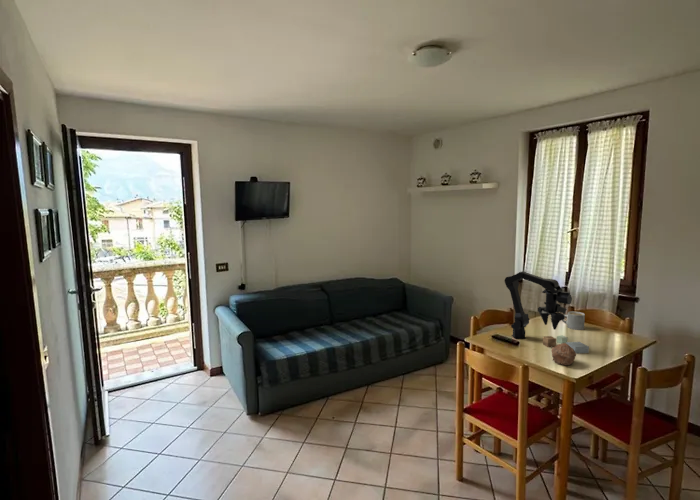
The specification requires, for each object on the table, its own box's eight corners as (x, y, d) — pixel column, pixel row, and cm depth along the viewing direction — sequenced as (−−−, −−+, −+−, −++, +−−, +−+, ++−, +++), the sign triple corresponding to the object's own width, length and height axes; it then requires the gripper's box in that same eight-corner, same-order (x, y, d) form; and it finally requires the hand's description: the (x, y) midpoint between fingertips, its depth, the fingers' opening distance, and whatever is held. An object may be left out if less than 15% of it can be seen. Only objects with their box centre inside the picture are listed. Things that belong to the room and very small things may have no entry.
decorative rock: (556, 356, 209) (557, 338, 208) (579, 362, 201) (580, 344, 200) (546, 363, 201) (547, 344, 200) (569, 369, 192) (570, 350, 191)
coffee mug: (586, 327, 259) (586, 313, 258) (581, 331, 252) (582, 316, 251) (564, 323, 268) (565, 309, 267) (559, 326, 262) (560, 312, 261)
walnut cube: (547, 347, 224) (548, 339, 223) (543, 344, 228) (543, 336, 228) (556, 347, 224) (556, 338, 223) (551, 344, 229) (551, 336, 228)
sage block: (562, 344, 228) (562, 337, 228) (556, 342, 232) (556, 335, 231) (567, 343, 229) (567, 337, 229) (561, 341, 233) (562, 335, 233)
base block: (575, 354, 213) (575, 347, 213) (566, 348, 221) (566, 342, 221) (588, 353, 214) (588, 346, 213) (579, 348, 222) (579, 341, 221)
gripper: (574, 304, 214) (573, 331, 216) (555, 297, 233) (554, 322, 235) (555, 305, 214) (554, 332, 216) (537, 297, 233) (536, 322, 234)
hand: (550, 327), depth 225 cm, fingers open, 9 cm apart
